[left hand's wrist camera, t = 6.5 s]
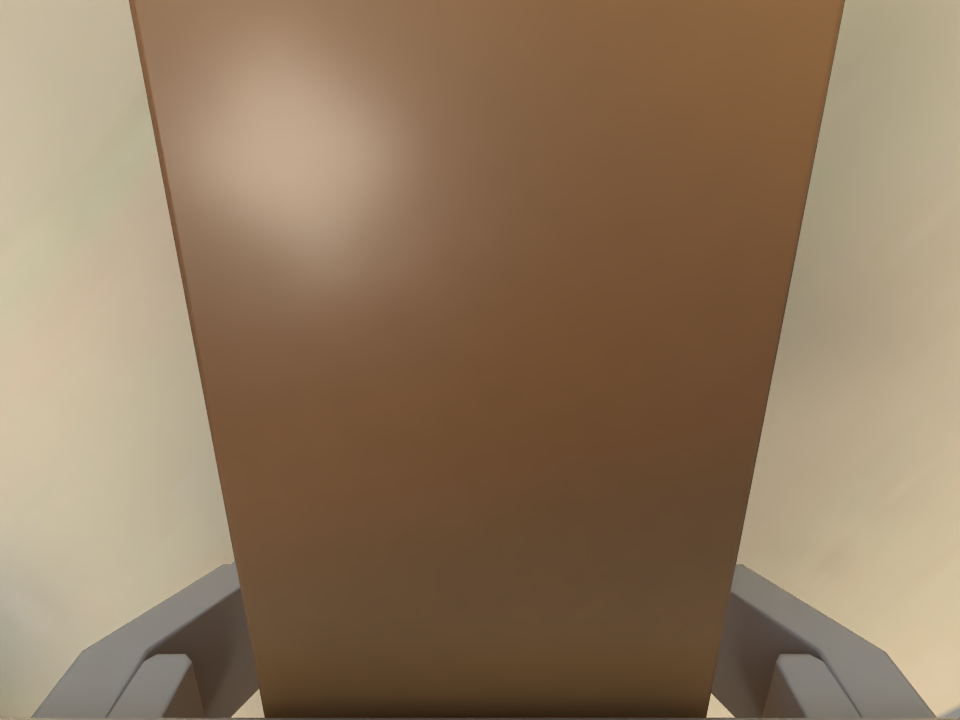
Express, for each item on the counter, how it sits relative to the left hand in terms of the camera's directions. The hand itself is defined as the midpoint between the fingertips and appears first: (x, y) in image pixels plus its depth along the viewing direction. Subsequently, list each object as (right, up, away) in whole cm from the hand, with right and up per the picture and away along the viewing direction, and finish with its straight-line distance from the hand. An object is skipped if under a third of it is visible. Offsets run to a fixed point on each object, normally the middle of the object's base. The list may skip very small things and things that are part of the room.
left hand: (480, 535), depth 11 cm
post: (0, +32, -9) cm, 34 cm away
